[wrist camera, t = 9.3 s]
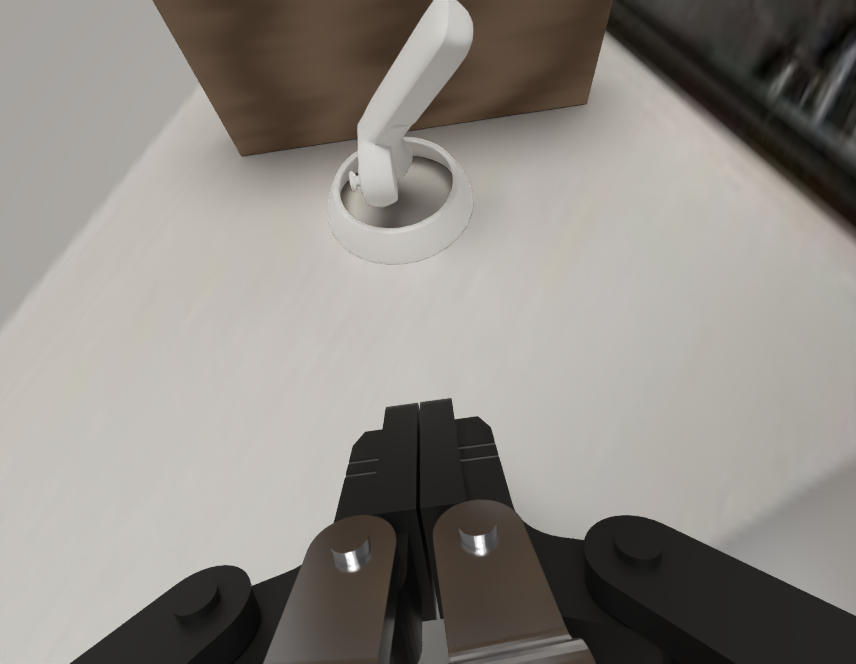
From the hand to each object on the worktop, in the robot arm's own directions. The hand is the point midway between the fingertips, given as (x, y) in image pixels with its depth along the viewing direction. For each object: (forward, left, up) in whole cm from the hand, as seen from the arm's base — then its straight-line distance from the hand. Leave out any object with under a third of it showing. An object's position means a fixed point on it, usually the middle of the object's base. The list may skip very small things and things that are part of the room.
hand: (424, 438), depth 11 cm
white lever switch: (0, -14, -8) cm, 16 cm away
